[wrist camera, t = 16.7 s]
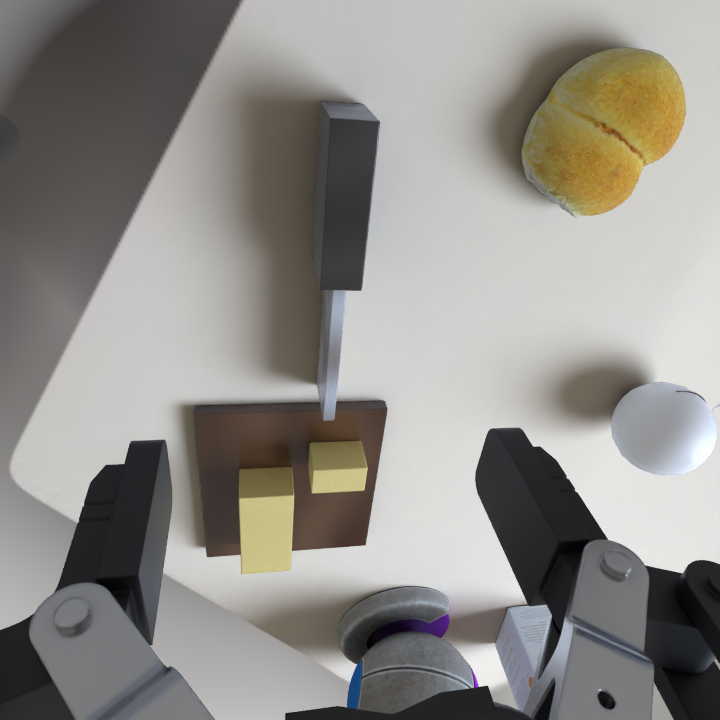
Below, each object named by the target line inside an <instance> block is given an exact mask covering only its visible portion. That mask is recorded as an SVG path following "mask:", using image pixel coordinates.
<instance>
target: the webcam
mask: <svg viewBox="0 0 720 720" xmlns="http://www.w3.org/2000/svg"><path fill="white" fill-rule="evenodd" d="M449 610H450V606H449V602H448V599H447V596H446V595H444V594H442V593H441V592H439V591H436V590H432V589H429V588H421V587H406V588H398V589H392V590H388V591H384V592H381V593H378V594H375V595H373V596H371V597H369V598H367V599H365V600H363V601H361V602H359V603H358V604H356V605H355V606H354V607H352V608H351V609H350V610H349V611H348V612H347V613H346V614H345V615H344V617H343V618H342V619H341V621H340V623H339V626H338V639H339V644H340V648H341V650H342V652H343V654H344V655H345V657H346V658H347V659H349V660H350V661H352V662H353V663H355V664H357V667H356V669H355V671H354V673H353V676H352V679H351V682H350V686H349V691H348V699H347V708H354V709H360V710H367V711H374V712H381V713H387V714H393V713H397V712H400V711H402V710H404V709H406V708H408V707H410V706H413V705H415V704H417V703H419V702H421V701H423V700H425V699H427V698H430V697H432V696H434V695H436V694H438V693H440V692H446V691H453V690H461V689H468V688H475V687H479V686H478V683H477V680H476V677H475V675H474V673H473V671H472V669H471V667H470V665H469V664H468V663H467V662H466V660H465V659H464V658H463V656H462V655H461V654H460V653H459V652H458V651H457V650H456V649H455V648H454V647H453V646H452V645H451V644H449V643H448V642H446V641H445V640H443V639H441V637H442V636H443V635H444V633H445V632H446V630H447V629H448V626H449V616H448V612H449Z"/></svg>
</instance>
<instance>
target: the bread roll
mask: <svg viewBox="0 0 720 720" xmlns="http://www.w3.org/2000/svg"><path fill="white" fill-rule="evenodd" d="M685 114H686V104H685V95H684V90H683V86H682V83H681V80H680V78H679V75H678V74H677V72H676V70H675V69H674V68H673V66H672V65H671V64H670V63H669V62H668V61H667V60H666V59H665V58H664V57H663V56H661V55H660V54H657V53H655V52H652V51H649V50H643V49H635V48H613V49H609V50H605V51H601V52H598V53H595V54H592V55H590V56H588V57H586V58H584V59H583V60H581V61H579V62H578V63H576V64H575V65H574V66H572V67H571V68H570V69H569V70H568V71H566V72H565V73H564V74H563V75H562V76H561V77H560V78H559V79H558V80H557V82H556V83H555V84H554V86H553V88H552V89H551V91H550V93H549V95H548V97H547V99H546V100H545V101H544V102H543V103H542V104H541V106H540V107H539V108H538V109H537V111H536V112H535V114H534V116H533V118H532V119H531V121H530V124H529V126H528V128H527V131H526V134H525V137H524V142H523V147H522V163H523V167H524V170H525V176H526V178H527V179H528V180H529V181H530V182H531V183H532V184H533V185H534V186H535V187H536V188H537V189H538V190H539V191H540V192H541V193H542V194H544V195H545V196H547V197H548V198H549V200H550V201H552V202H553V203H556V204H558V205H560V207H561V208H562V209H563V210H566V211H567V212H569V213H570V214H571V215H572V216H573V217H575V218H576V217H579V216H585V215H588V216H592V215H598V214H602V213H605V212H607V211H610V210H612V209H614V208H615V207H617V206H618V205H620V204H621V203H622V202H624V201H625V200H626V199H627V198H628V197H629V196H630V195H631V193H632V192H633V190H634V188H635V186H636V184H637V182H638V180H639V177H640V174H641V171H642V169H643V167H644V166H646V165H647V164H649V163H653V162H654V161H656V160H658V159H660V158H662V157H663V156H664V155H665V154H666V153H667V152H668V151H669V150H670V149H671V148H672V147H673V145H674V144H675V142H676V140H677V138H678V136H679V134H680V132H681V129H682V127H683V124H684V119H685Z"/></svg>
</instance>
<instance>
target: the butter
mask: <svg viewBox="0 0 720 720" xmlns="http://www.w3.org/2000/svg"><path fill="white" fill-rule="evenodd" d="M293 511H294V487H293V475H292V467H274V468H252V469H240V470H239V520H240V548H241V574H251V573H263V572H276V571H288V570H291V555H292V533H293Z"/></svg>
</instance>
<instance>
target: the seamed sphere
mask: <svg viewBox="0 0 720 720" xmlns="http://www.w3.org/2000/svg"><path fill="white" fill-rule="evenodd" d="M718 406H720V404H719V405H718ZM718 406H716V407H718ZM716 407H714V408H713V409H715V408H716ZM611 426H612V437H613V439H614V441H615V443H616V445H617V447H618V449H619V451H620V453H621V455H622V456H623V457H624V458H626V459H627V460H628V461H629V462H630V463H631V464H633V465H634V466H636V467H637V468H639V469H641V470H644V471H646V472H648V473H651V474H656V475H680V474H683V473H686V472H689V471H691V470H693V469H695V468H696V467H698V466H699V465H700V464H702V463H703V462H704V461H705V460H706V459H707V458H708V457H709V456H710V454H711V452H712V450H713V448H714V444H715V441H716V436H717V428H716V423H715V419H714V416H713V413H712V411H711V409H710V408H709V407H708V405H707V404H706V402H705V400H704V399H703V397H701V396H700V395H699V394H697V393H694V392H692V391H691V390H689V389H688V388H686V387H683V386H679V385H675V384H670V383H666V382H657V383H650V384H646V385H642V386H639V387H636V388H635V389H633V390H631V391H629V392H628V393H627V394H626V395H625V396H624V397H623V398H622V399H621V400H620V402H619V403H618V405H617V406H616V408H615V410H614V413H613V415H612V424H611Z"/></svg>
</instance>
